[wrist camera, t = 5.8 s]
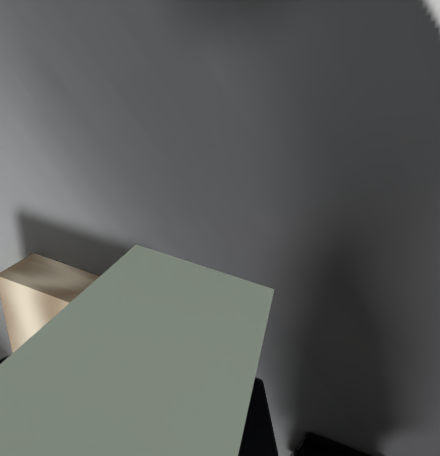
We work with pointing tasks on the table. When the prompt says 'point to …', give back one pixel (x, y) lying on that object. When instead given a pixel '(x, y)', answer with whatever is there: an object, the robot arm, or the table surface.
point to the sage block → (139, 365)
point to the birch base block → (38, 294)
